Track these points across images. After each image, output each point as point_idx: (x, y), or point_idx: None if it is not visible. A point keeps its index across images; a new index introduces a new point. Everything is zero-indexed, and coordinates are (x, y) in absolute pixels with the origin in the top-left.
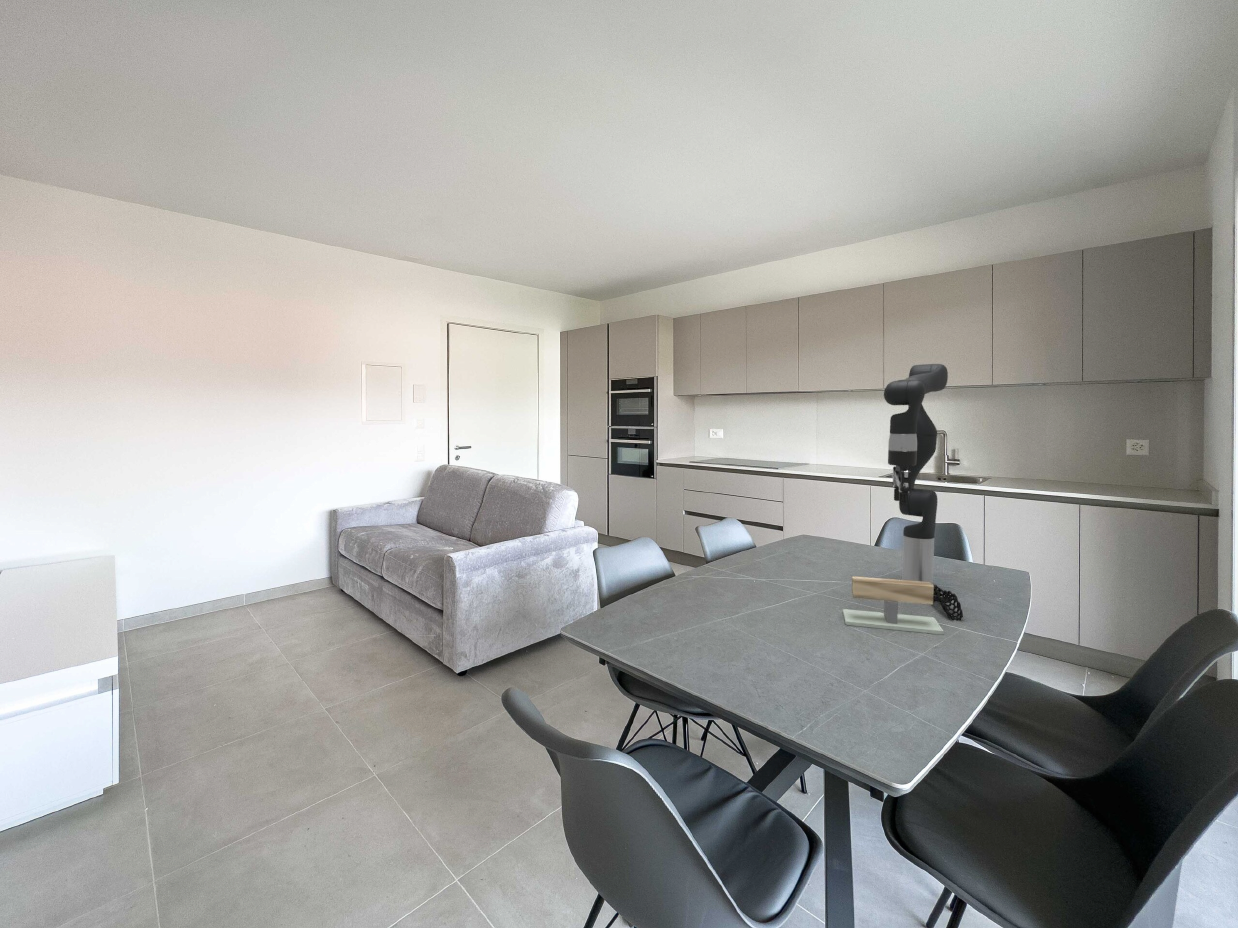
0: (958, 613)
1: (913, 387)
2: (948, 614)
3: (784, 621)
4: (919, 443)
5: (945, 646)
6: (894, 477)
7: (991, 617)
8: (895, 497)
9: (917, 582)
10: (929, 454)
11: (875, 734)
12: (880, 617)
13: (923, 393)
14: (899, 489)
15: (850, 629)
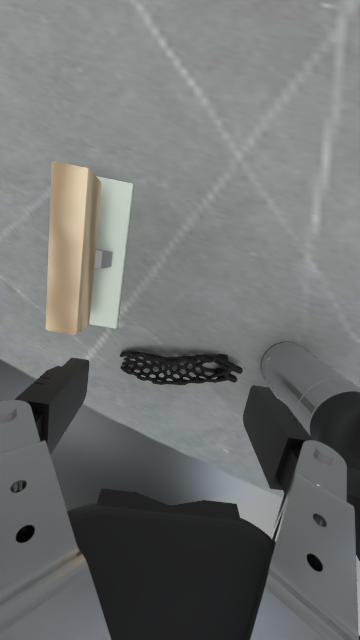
0: (135, 368)
1: None
2: (125, 352)
3: (62, 39)
4: None
5: (17, 303)
6: (270, 558)
7: (144, 407)
8: (257, 399)
9: (68, 308)
10: None
11: None
12: (100, 242)
13: None
14: (6, 419)
15: (50, 175)
